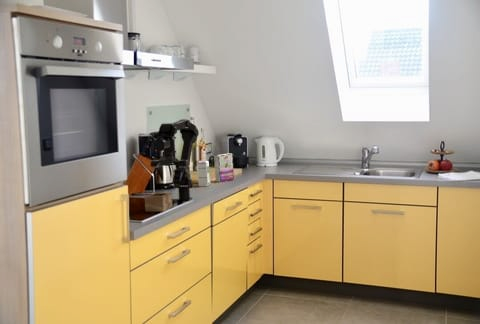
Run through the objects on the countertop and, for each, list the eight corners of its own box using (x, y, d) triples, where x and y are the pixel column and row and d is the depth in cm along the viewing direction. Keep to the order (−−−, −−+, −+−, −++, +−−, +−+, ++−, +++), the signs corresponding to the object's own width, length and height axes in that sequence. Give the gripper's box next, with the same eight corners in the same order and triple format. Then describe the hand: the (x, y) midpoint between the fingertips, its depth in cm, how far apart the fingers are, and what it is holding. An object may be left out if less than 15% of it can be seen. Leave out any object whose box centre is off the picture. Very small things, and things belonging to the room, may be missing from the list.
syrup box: (207, 186, 347) (206, 161, 345) (198, 186, 348) (196, 161, 346) (210, 184, 352) (209, 160, 351) (200, 184, 353) (199, 160, 352)
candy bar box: (229, 179, 371) (227, 153, 369) (234, 180, 367) (233, 153, 365) (214, 181, 364) (213, 155, 362) (220, 182, 360) (218, 155, 358)
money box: (155, 206, 290) (154, 192, 289) (172, 206, 287) (171, 192, 286) (145, 211, 279) (144, 196, 278) (163, 211, 277) (162, 196, 276)
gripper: (144, 151, 284) (146, 183, 286) (181, 150, 279) (182, 183, 281) (154, 148, 295) (155, 179, 297) (189, 148, 290) (191, 179, 292)
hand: (170, 180), depth 291 cm, fingers open, 9 cm apart
